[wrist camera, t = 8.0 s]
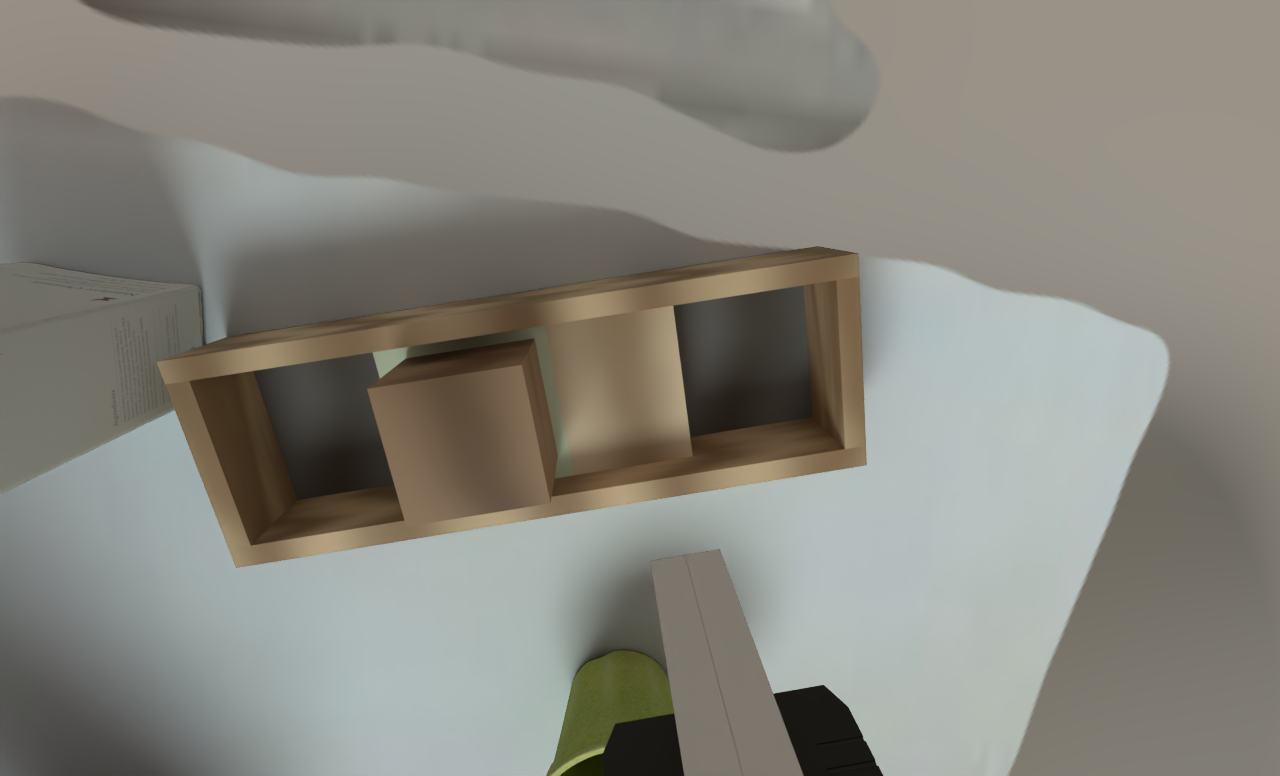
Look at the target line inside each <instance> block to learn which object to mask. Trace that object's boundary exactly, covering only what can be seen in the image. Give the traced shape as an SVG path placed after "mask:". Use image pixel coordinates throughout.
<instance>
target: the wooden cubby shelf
mask: <svg viewBox="0 0 1280 776" xmlns="http://www.w3.org/2000/svg"><path fill="white" fill-rule="evenodd" d="M534 338H535V343H536V348H537V353H538V358H539V363H540V369H541V374H542V379H543V384H544V389H545V394H546V399H547V404H548V409H549V414H550V419H551V424H552V429H553V434H554V439H555V445H556V450H557V455H558V459H557V465H556V472H555V478H554V485H553V491H552V497H551V503H550V504H544V505H538V506H532V507H525V508H519V509H513V510H507V511H501V512H494V513H488V514H482V515H476V516H470V517H463V518H457V519H451V520H445V521H439V522H432V523H426V524H420V525H414V526H408V527H406V524H405V520H404V517H403V513H402V510H401V506H400V503H399V499H398V496H397V492H396V489H395V485H394V482H393V478H392V475H391V471H390V468H389V464H388V461H387V457H386V454H385V450H384V447H383V443H382V440H381V436H380V433H379V429H378V426H377V422H376V419H375V415H374V412H373V408H372V405H371V401H370V398H369V394H368V391H367V389H368V388H369V387H370V386H371V385H373V384H374V383H375V382H376V381H378V380H379V379H380V378H382V377H383V376H384V375H385V374H387V373H388V372H389V371H390V370H392V369H393V368H394V367H395V366H397V365H398V364H399V363H401V362H402V361H403V360H404V359H406V358H411V357H418V356H424V355H431V354H437V353H444V352H450V351H457V350H463V349H470V348H476V347H482V346H489V345H495V344H502V343H508V342H515V341H521V340H528V339H534ZM157 365H158V367H159V370H160V372H161V375H162V377H163V380H164V383H165V385H166V388H167V390H168V393H169V396H170V398H171V401H172V403H173V406H174V408H175V411H176V414H177V416H178V419H179V421H180V424H181V427H182V429H183V432H184V434H185V437H186V440H187V442H188V445H189V447H190V450H191V452H192V455H193V458H194V460H195V463H196V465H197V468H198V471H199V473H200V476H201V478H202V481H203V483H204V486H205V489H206V491H207V494H208V496H209V499H210V502H211V504H212V507H213V509H214V512H215V514H216V517H217V520H218V522H219V525H220V527H221V530H222V533H223V535H224V538H225V540H226V543H227V546H228V548H229V551H230V553H231V556H232V558H233V561H234V564H235V566H236V568H238V567H245V566H251V565H257V564H263V563H269V562H275V561H281V560H287V559H294V558H300V557H306V556H312V555H318V554H324V553H330V552H337V551H343V550H349V549H355V548H361V547H367V546H373V545H379V544H386V543H392V542H398V541H404V540H410V539H416V538H422V537H429V536H435V535H441V534H447V533H453V532H459V531H465V530H471V529H478V528H484V527H490V526H496V525H502V524H508V523H514V522H521V521H527V520H533V519H539V518H545V517H551V516H557V515H563V514H570V513H576V512H582V511H588V510H594V509H600V508H606V507H613V506H619V505H625V504H631V503H637V502H643V501H649V500H655V499H662V498H668V497H674V496H680V495H686V494H692V493H698V492H705V491H711V490H717V489H723V488H729V487H735V486H741V485H748V484H754V483H760V482H766V481H772V480H778V479H784V478H790V477H797V476H803V475H809V474H815V473H821V472H827V471H833V470H840V469H846V468H852V467H858V466H864V465H867V462H866V437H865V412H864V387H863V362H862V337H861V313H860V288H859V263H858V253H853V252H847V251H841V250H835V249H830V248H824V247H818V246H817V247H812V248H804V249H798V250H791V251H785V252H778V253H772V254H765V255H759V256H753V257H746V258H740V259H733V260H727V261H720V262H714V263H707V264H701V265H694V266H688V267H681V268H675V269H668V270H662V271H655V272H649V273H642V274H636V275H629V276H623V277H616V278H610V279H603V280H597V281H590V282H584V283H577V284H571V285H564V286H558V287H551V288H545V289H538V290H532V291H525V292H519V293H512V294H506V295H499V296H493V297H487V298H480V299H474V300H467V301H461V302H454V303H448V304H441V305H435V306H428V307H422V308H415V309H409V310H402V311H396V312H389V313H383V314H376V315H370V316H363V317H357V318H350V319H344V320H337V321H331V322H324V323H318V324H311V325H305V326H298V327H292V328H285V329H279V330H272V331H266V332H259V333H253V334H246V335H240V336H234V337H227V338H223V339H221V340H218V341H215V342H212V343H209V344H206V345H203V346H201V347H198V348H195V349H192V350H189V351H186V352H183V353H181V354H178V355H175V356H172V357H169V358H166V359H163V360H161V361H158V362H157Z"/></svg>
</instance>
